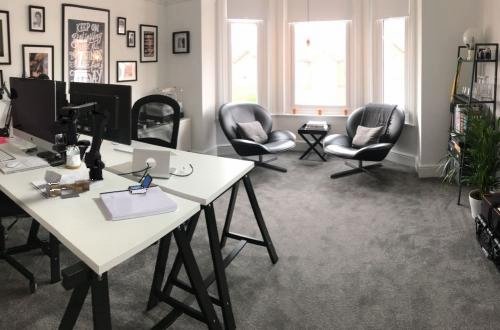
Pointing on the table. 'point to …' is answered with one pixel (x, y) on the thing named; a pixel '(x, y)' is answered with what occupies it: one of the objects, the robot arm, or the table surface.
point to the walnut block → (82, 185)
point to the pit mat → (70, 195)
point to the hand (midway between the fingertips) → (73, 161)
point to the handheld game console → (143, 183)
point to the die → (52, 176)
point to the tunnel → (58, 192)
